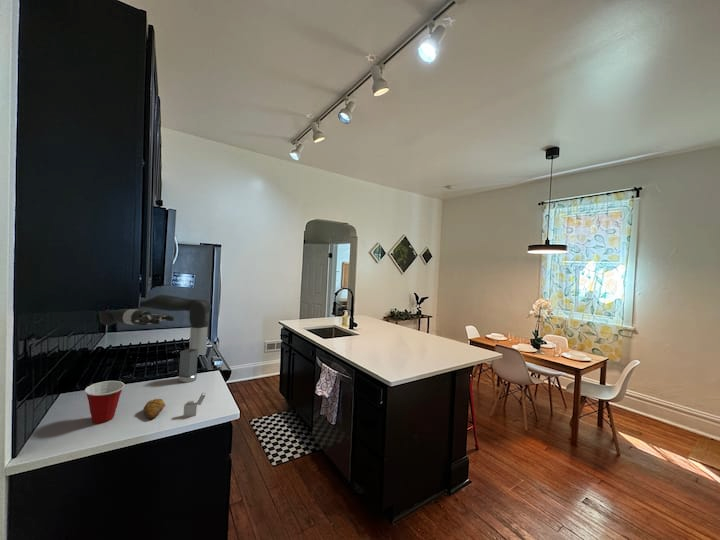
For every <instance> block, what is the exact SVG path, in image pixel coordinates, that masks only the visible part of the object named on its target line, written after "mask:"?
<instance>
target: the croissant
mask: <svg viewBox="0 0 720 540" xmlns="http://www.w3.org/2000/svg"><path fill="white" fill-rule="evenodd" d="M165 406H166V404H165V402H164V400H163V399H161V398H154V399H152V400H149V401H147V402H146V404H145V405H144V406H143V411H144V413H145V416H146V417H147V418H148V420H154V419H155V418H157V417H158V416H159V415H160V413H161V412H162V411H163V409H164V407H165Z"/></svg>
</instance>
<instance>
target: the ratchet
mask: <svg viewBox="0 0 720 540" xmlns="http://www.w3.org/2000/svg"><path fill="white" fill-rule="evenodd" d="M197 376H198V374H195V375H193V376H191V377H189V378H188V377H180V376H179V375H178V383H179V384H188V383H189V384H190V383H193V382H195V381H197V379H198V378H197Z"/></svg>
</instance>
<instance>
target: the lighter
mask: <svg viewBox="0 0 720 540" xmlns="http://www.w3.org/2000/svg"><path fill="white" fill-rule="evenodd" d="M206 396H207V393H206V392H202V393H201V395H200V397H199V398H198V400H197V402H195V401H194V400H189V401H187V402H186V403H184V405H183V417H182V418H188V417H189V418H190V417H195V416H196V415H197V411H198V410H197V408H198V406H201V405H202V403H203V401H204V399H205V398H206Z"/></svg>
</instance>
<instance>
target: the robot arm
mask: <svg viewBox="0 0 720 540" xmlns="http://www.w3.org/2000/svg"><path fill="white" fill-rule="evenodd" d="M139 308H144V309H137V308H133V309H130V308H129V309H128V308H125V310H105V311H98V316H99V321H100V323H101V325H104V326H111V325H114V324H116V323H120V324H127V325H131V326H132V325H133V326H139V327H143V326H147V325H152V324H154V325H159V324H160V322H163V321H167V322H169V321H170V322H173V321H174V316H172V315H170V314H166V313H165V314H164V313H157V314H155V313H152V312H150V311H149V310H145V309H153V310H158V311H167V312H183V311H184V312H185V311H186V312H189V323H190V333H189V349H197V350H198V357H200V356H199V355H202V356H201V357H204V356H205V355H207V347H208V346H207V345H208V343H207V342H208V327H209V322H208V320H207V314H208V313H209V312H210V311H211V310H212V304H211V303H210V301H208V300H205V299H189V298H186V297H185V298H184V297H179V296H174V295H167V294H158V295H156V296H153V297H151V298H149V299H147V300H140V307H139Z"/></svg>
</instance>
